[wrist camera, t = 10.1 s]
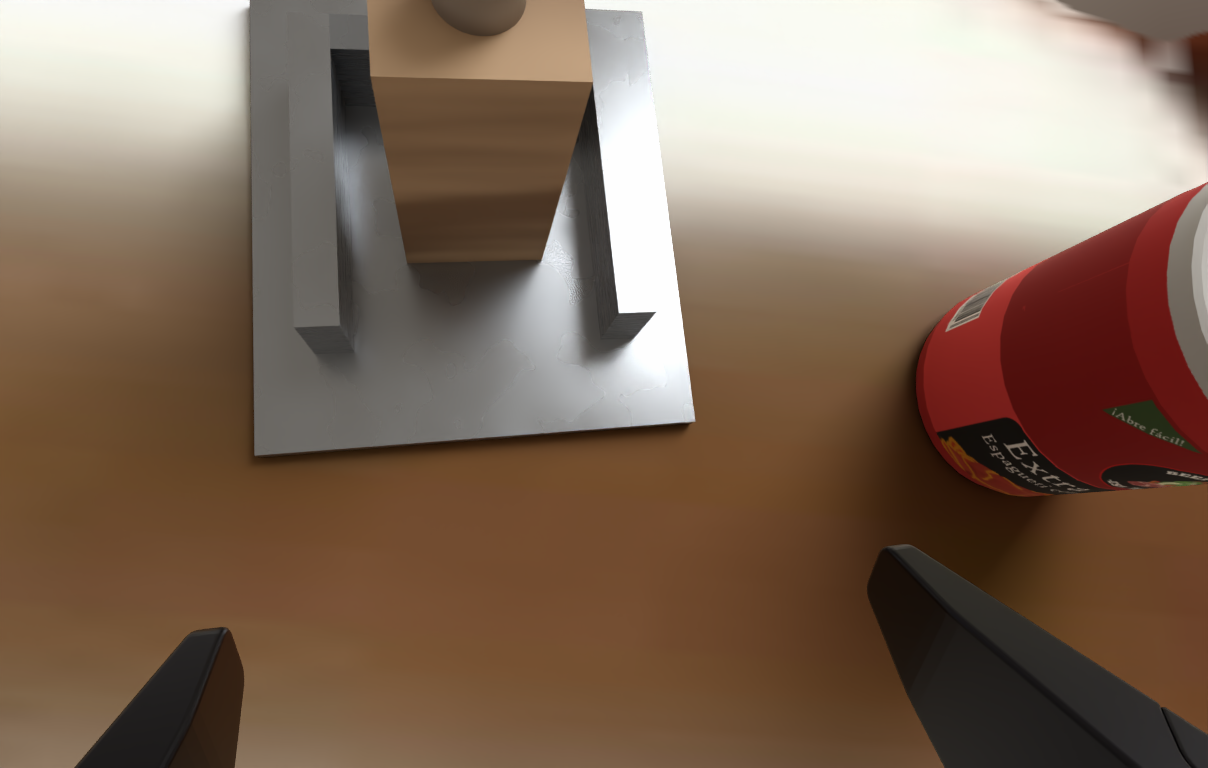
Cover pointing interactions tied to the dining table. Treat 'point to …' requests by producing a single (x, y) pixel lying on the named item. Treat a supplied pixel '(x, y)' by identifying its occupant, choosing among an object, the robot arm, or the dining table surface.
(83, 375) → the dining table surface
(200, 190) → the dining table surface
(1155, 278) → the canned food
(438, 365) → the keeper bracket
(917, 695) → the robot arm
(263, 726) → the dining table surface
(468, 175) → the knobbed wooden block
